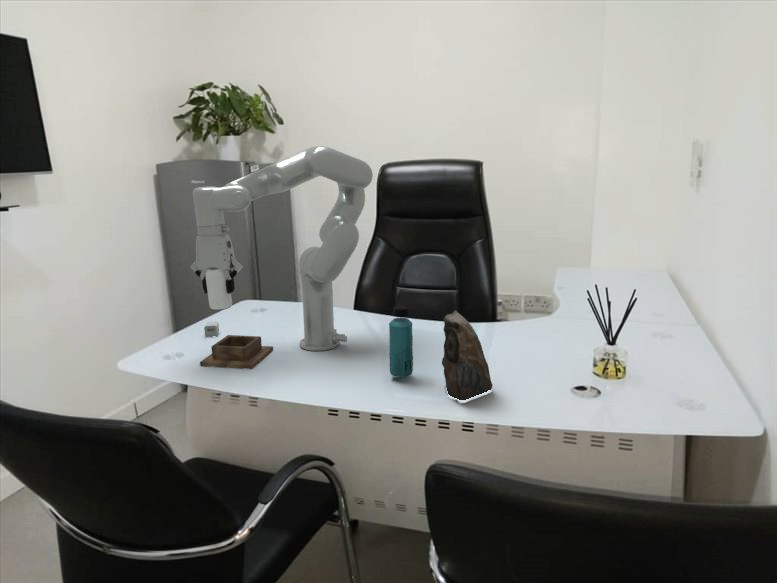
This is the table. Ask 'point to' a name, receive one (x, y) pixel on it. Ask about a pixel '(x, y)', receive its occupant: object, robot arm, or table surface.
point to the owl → (464, 359)
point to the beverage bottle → (401, 343)
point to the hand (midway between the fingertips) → (219, 291)
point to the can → (217, 290)
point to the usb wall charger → (211, 329)
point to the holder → (237, 352)
